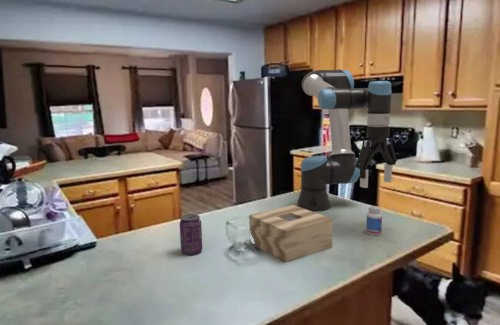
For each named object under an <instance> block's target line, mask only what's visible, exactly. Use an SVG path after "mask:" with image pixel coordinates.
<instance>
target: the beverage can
mask: <svg viewBox="0 0 500 325" xmlns="http://www.w3.org/2000/svg"><path fill="white" fill-rule="evenodd" d="M202 229H203V228H202V220H201V217H200V215H198V214H197V213H196V214H193V213H191V214H185V215H182V216H180V221H179V238H180V240H179V241H180V252H181V253H183V254H185V255H190V256H191V255H195V254H199V252H202V251H203V232H202V231H203V230H202Z"/></svg>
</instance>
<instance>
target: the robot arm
mask: <svg viewBox="0 0 500 325" xmlns="http://www.w3.org/2000/svg"><path fill="white" fill-rule="evenodd" d="M354 87H355V80H354V77H353V75H352V73H351V72H350V71H349V70H347V69H341V68H339V69H316V70H313V71H311V72H308V73H307V74H306V75H305V76H304V77H303V79H302V81H301V89H302V91H303V92H304V93H305V94H306V95H308V96H311V97H314V98H315V99H317V103H318V104H317V105H318V108H320V109H321V110H327V111H329V114H328V115H329V126H330V127H329V128H330V140H331V153H330V154H329V155H328V156H329V157H327V156H326V155H312V156H308V157H305V158H304V159H302V161H301V163H300V164H301V166H300V192H299V196H298V199H297V202H296V206H298V207H300V208H303V209H306V210H309V211H312V212H321V211H327V210H329V209H330V208H331V202H330V200H329V194H328V192H327V186H328V185H338V184H339V185H340V184H341V185H342V184H346V185H347V184H354V183H356V182H357V181H358V180H359V187H360V188H363V189H367V188H368V187H369V169H368V167H369V165H370V163H371V161H372V159H373V158H374V155H376V154H377V153H380V155H381V157H382V158H383V160H384V162H385V164H384V168H383V169H384V170H383V182H385V183H392V179H393V177H392V175H393V166H395V165H396V163H397V161H398V160H397V156H396V152H395V148H394V146H393V138H392V137H391V138H390V131H391V130H390V126H389V125H390V124H391V122H390V121H391V105H392V93H393V91H392V83H391V82H390V81H388V80H377V81H376V80H375V81H370V82H369V83H368V87H366V88H365V87H363V88H361V87H359V88H354ZM349 109H350V110H353V109H354V110H355V109H357V110H358V109H362V110H364V109H367V115H366V116H367V118H366V124H367V125H368V126H367V127H366V137H367V138H368V140H362V144H361V149H360V152H359V154H358V157H356V154H355V152H354V151H353V150H352V144H351V132H350V119H349Z"/></svg>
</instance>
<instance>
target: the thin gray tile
mask: <svg viewBox="0 0 500 325" xmlns="http://www.w3.org/2000/svg"><path fill="white" fill-rule="evenodd" d="M282 219H285V220H287V221H291V220H295V219H298V218H295V217H293V216H288V217H284V218H282Z"/></svg>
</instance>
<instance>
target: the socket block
mask: <svg viewBox="0 0 500 325" xmlns="http://www.w3.org/2000/svg"><path fill="white" fill-rule="evenodd" d="M288 216H293V217H295V218H298V219H295V220H291V221H287V220H285V219H282V218H284V217H288ZM333 219H334V218H332V217H330V216H327V215H323V214H320V213H317V212H316V211H309V210H306V209H303V208H300V207H298V206H297V205H294V204H291V205H287V206H282V207H278V208H274V209H269V210H265V211H261V212H257V213H252V214H249V219H248V220H249V222H248V223H249V232H250V231H251V235H252V237H253V239H254V242H255V245H254V246H256V247H258V248H259V249H260V250H261V249H262V250H263V251H264V252H267V253H269V255H272V256H274V257H276V258H277V259H279V260H281V261H282V262H285V263H288V262H291V261H294V260H297V259H300V258H304V257H306V256H310V255H312V254H315V253H317V252H321V251H324V250H327V249H330V248H333Z"/></svg>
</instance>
